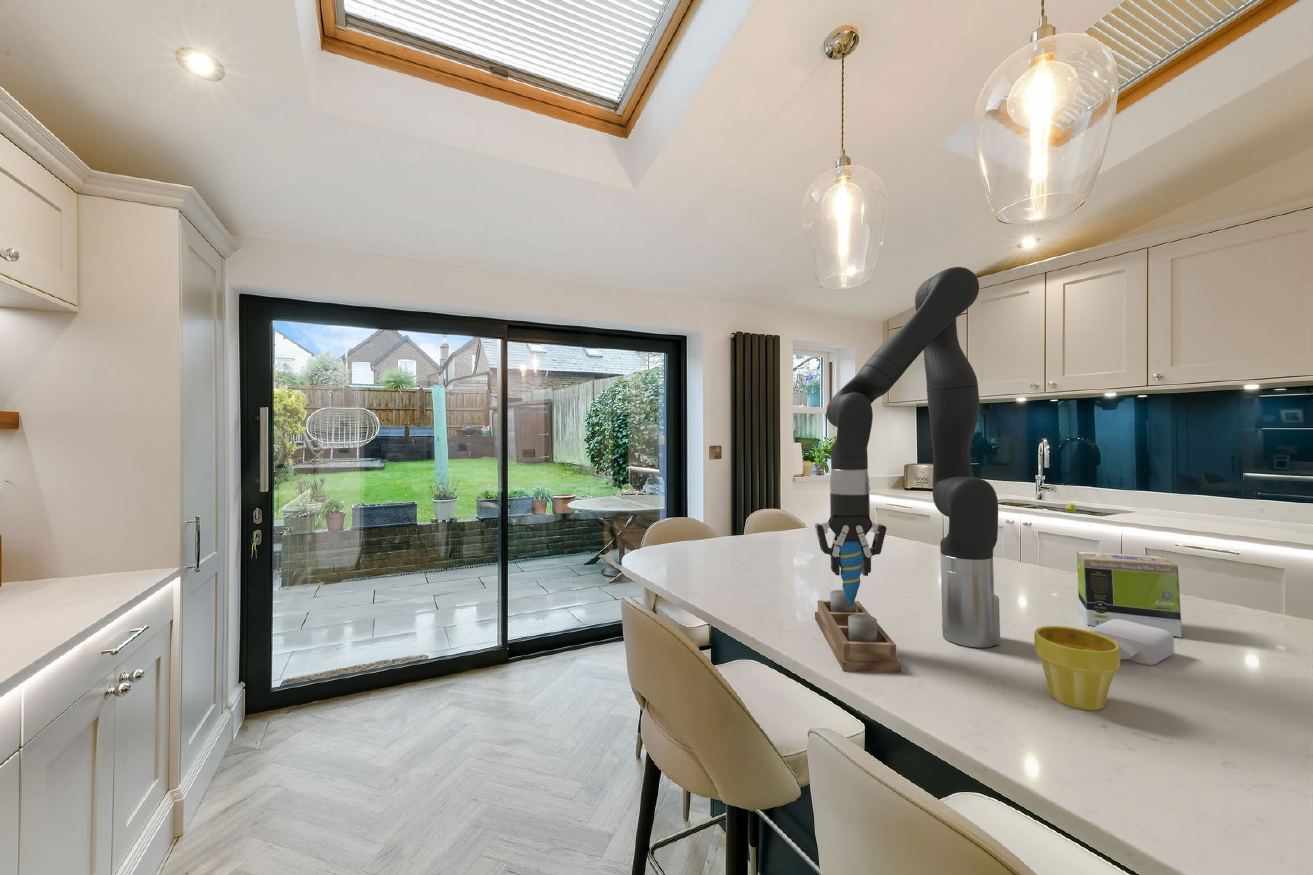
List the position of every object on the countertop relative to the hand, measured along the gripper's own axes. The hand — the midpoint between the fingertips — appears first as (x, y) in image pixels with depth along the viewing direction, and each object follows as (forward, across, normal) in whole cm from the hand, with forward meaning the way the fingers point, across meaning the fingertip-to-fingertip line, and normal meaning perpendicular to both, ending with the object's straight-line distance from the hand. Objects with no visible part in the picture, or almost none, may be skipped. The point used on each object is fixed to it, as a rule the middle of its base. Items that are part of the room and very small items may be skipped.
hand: (850, 574), depth 104 cm
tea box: (+13, -61, -14) cm, 64 cm away
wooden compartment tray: (+14, 0, 0) cm, 14 cm away
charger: (+14, -48, +3) cm, 50 cm away
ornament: (+7, 0, 0) cm, 7 cm away
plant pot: (+14, -29, +21) cm, 38 cm away
